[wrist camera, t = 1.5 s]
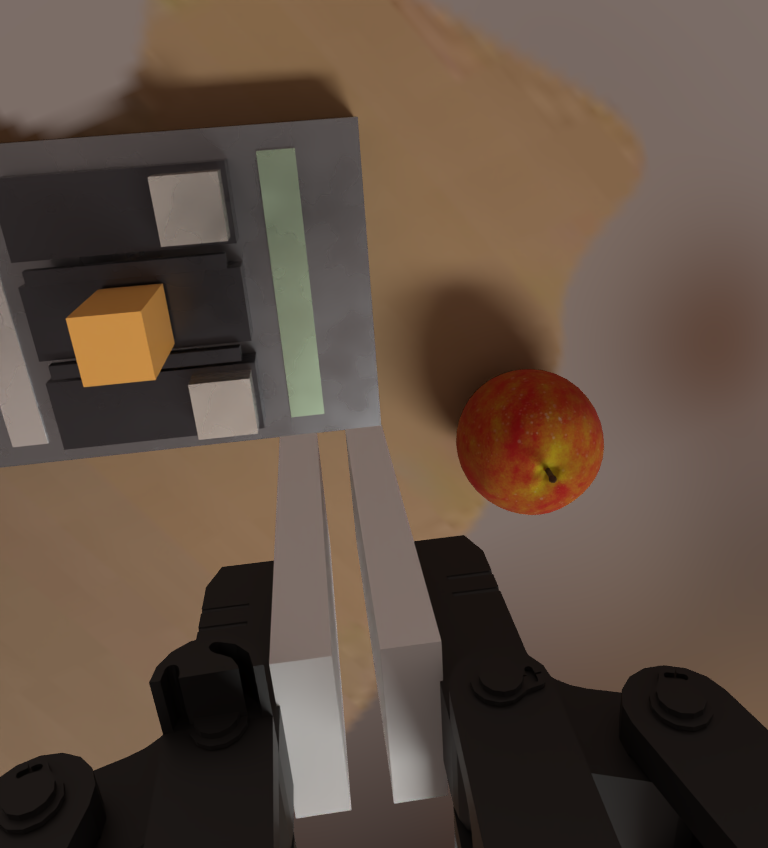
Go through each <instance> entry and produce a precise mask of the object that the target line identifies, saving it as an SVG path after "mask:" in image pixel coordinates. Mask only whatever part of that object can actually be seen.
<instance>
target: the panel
mask: <svg viewBox="0 0 768 848" xmlns="http://www.w3.org/2000/svg"><path fill="white" fill-rule="evenodd" d="M161 283H163V287H164V292H165V297H166V302H167V308H168V313H169V318H170V323H171V328H172V333H173V338H174V343H175V344H174V346H173V348H172V350H171V352H170V354H169V355H168V357H167V359H166V361H165V363H164V365H163V367H162V369H161V371H160V373H159V375H158V376H157V378H156V380H150V381H140V382H130V383H121V384H111V385H101V386H91V387H83V383H82V379H81V376H80V372H79V368H78V364H77V360H76V356H75V353H74V349H73V345H72V341H71V337H70V333H69V330H68V326H67V322H66V318H67V317H68V316H69V315H70V314H71V313H72V312H73V311H74V310H76V309H77V308H78V307H79V306H80V305H81V304H82V303H83V302H84V301H86V300H87V299H88V298H89V297H90V296H91V295H92V294H93V293H95V292H96V291H97V290H98V289H106V288H117V287H128V286H139V285H150V284H161ZM372 426H381V418H380V405H379V392H378V379H377V366H376V352H375V339H374V326H373V313H372V300H371V287H370V274H369V261H368V248H367V235H366V222H365V209H364V195H363V182H362V169H361V156H360V143H359V130H358V117H342V118H329V119H315V120H302V121H289V122H275V123H262V124H249V125H236V126H222V127H209V128H196V129H182V130H169V131H156V132H143V133H129V134H116V135H103V136H89V137H76V138H63V139H50V140H36V141H23V142H10V143H0V467H9V466H18V465H27V464H36V463H45V462H55V461H64V460H73V459H82V458H91V457H100V456H109V455H118V454H128V453H137V452H146V451H155V450H164V449H173V448H182V447H191V446H201V445H210V444H219V443H228V442H237V441H246V440H255V439H264V438H273V437H281V436H290V435H299V434H308V433H319V432H328V431H337V430H345V429H354V428H363V427H372Z"/></svg>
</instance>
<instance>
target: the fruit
mask: <svg viewBox="0 0 768 848" xmlns="http://www.w3.org/2000/svg"><path fill="white" fill-rule="evenodd" d="M456 445H457V453H458V457H459V461H460V464H461V467H462V469H463V471H464V473H465V475H466V477H467V479H468V480H469V482H470V483H471V484H472V485H473V487H474V488H475V489H476V490H477V491H478V492H479V493H480V494H481V495H482V496H483V497H484V498H486V499H487V500H488V501H490V502H492V503H493V504H495V505H496V506H498V507H500V508H503V509H506V510H508V511H511V512H515V513H519V514H528V515H536V514H537V515H538V514H545V513H550V512H553V511H555V510H558V509H560V508H562V507H564V506H566V505H568V504H569V503H571V502H572V501H574V500H575V499H577V498H578V497H579V496H580V495H581V494H583V492H584V491H585V490H586V489H587V488H588V487H589V486H590V484H591V483H592V482H593V480H594V479H595V477H596V475H597V473H598V471H599V469H600V466H601V462H602V458H603V450H604V439H603V432H602V427H601V423H600V420H599V417H598V415H597V413H596V410H595V408H594V407H593V405H592V404H591V402H590V401H589V399H588V398H587V397H586V395H585V394H583V392H582V391H581V390H580V389H579V388H578V387H576V386H575V385H574V384H573V383H571V382H570V381H568V380H567V379H565V378H563V377H561V376H559V375H557V374H554V373H551V372H547V371H543V370H535V369H523V370H515V371H510V372H507V373H504V374H501V375H499V376H497V377H495V378H493V379H491V380H489V381H488V382H486V383H485V384H483V385H482V386H481V387H480V388H479V389H478V390H477V391H476V392H475V393H474V394H473V395H472V397H471V398H470V399H469V400H468V402H467V404H466V406H465V407H464V409H463V412H462V414H461V417H460V419H459V423H458V428H457V438H456Z"/></svg>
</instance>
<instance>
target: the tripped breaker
mask: <svg viewBox="0 0 768 848" xmlns="http://www.w3.org/2000/svg"><path fill="white" fill-rule="evenodd" d="M66 322H67V326H68V330H69V333H70V337H71V341H72V345H73V349H74V353H75V356H76V360H77V364H78V368H79V372H80V376H81V379H82V383H83V387H91V386H101V385H111V384H121V383H130V382H140V381H150V380H156V378H157V376H158V375H159V373H160V371H161V369H162V367H163V365H164V363H165V361H166V359H167V357H168V355H169V354H170V352H171V350H172V348H173V346H174V344H175V343H174V338H173V333H172V328H171V323H170V318H169V313H168V308H167V302H166V297H165V292H164V287H163V283H161V284H150V285H139V286H128V287H117V288H106V289H98V290H97V291H96V292H95V293H93V294H92V295H91V296H90V297H89V298H88V299H87V300H86V301H84V302H83V303H82V304H81V305H80V306H79V307H78V308H77V309H76V310H74V311H73V312H72V313H71V314H70V315H69V316H68V317H67V318H66Z"/></svg>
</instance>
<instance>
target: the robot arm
mask: <svg viewBox="0 0 768 848" xmlns="http://www.w3.org/2000/svg"><path fill="white" fill-rule="evenodd" d="M345 431H346V441H347V451H348V461H349V471H350V481H351V491H352V501H353V511H354V521H355V531H356V541H357V548H358V555H359V562H360V569H361V576H362V583H363V590H364V597H365V604H366V611H367V618H368V625H369V632H370V639H371V646H372V653H373V660H374V667H375V674H376V681H377V688H378V695H379V702H380V709H381V716H382V723H383V729H384V737H385V743H386V751H387V758H388V764H389V772H390V779H391V786H392V793H393V799H394V803H401V802H407V801H414V800H421V799H427V798H434V797H440V796H447V795H448V783H449V787H450V792H451V796H452V800H453V805H454V828H455V848H768V730H767V729H766V728H765V727H764V726H763V725H762V724H761V723H760V722H759V721H758V720H757V719H756V718H755V717H754V716H752V714H750V713H749V712H748V711H747V710H746V709H745V708H744V707H743V706H742V705H741V704H740V703H739V702H738V701H737V700H736V699H735V698H733V696H731V695H730V694H729V693H728V692H727V691H726V690H725V689H724V688H722V687H721V686H719V685H718V684H716V683H715V682H714V681H712V680H711V679H709V678H708V677H707V676H704V675H701V674H699V673H696V672H694V671H691V670H689V669H686V668H680V667H672V666H656V667H650V668H644V669H642V670H640V671H639V672H637V673H635V674H633V675H632V676H630V677H629V679H628V680H627V682H626V684H625V685H624V687H623V689H622V693H619V692H611V691H602V690H593V689H586V688H581V687H577V686H572V685H569V684H566V683H564V682H561V681H558V680H556V679H554V678H552V677H551V676H550V675H549V673H548V672H547V670H546V669H545V667H544V666H543V665H542V664H541V663H539V662H538V661H536V660H535V659H533V658H532V657H530V656H529V655H528V654H527V652H526V650H525V648H524V646H523V643H522V641H521V638H520V636H519V634H518V631H517V629H516V627H515V625H514V622H513V620H512V617H511V615H510V613H509V611H508V608H507V606H506V604H505V601H504V599H503V597H502V594H501V592H500V591H499V589H498V585H497V582H496V580H495V578H494V575H493V574H492V572H491V569H490V566H489V564H488V561H487V559H486V557H485V554H484V552H483V550H481V549H480V548H479V547H478V546H476V545H475V544H474V543H473V542H472V541H470V540H469V539H468V538H467V537H465V536H464V535H462V536H454V537H446V538H437V539H429V540H421V541H414V540H413V537H412V533H411V529H410V526H409V522H408V519H407V515H406V511H405V508H404V504H403V501H402V497H401V493H400V490H399V486H398V482H397V479H396V475H395V472H394V468H393V464H392V461H391V457H390V454H389V450H388V446H387V443H386V439H385V436H384V432H383V428H382V425H381V426H372V427H363V428H354V429H345ZM149 684H150V687H151V691H152V695H153V699H154V702H155V706H156V710H157V713H158V717H159V721H160V724H161V728H162V732H163V735H162V736H161V737H160V738H159V739H157V740H156V741H155V742H153V743H152V744H151V745H149V746H148V747H146V748H145V749H143V750H141V751H139V752H137V753H135V754H133V755H131V756H129V757H126V758H124V759H121V760H119V761H116V762H114V763H111V764H109V765H106V766H104V767H102V768H99V769H97V770H94V771H93V769H92V767H91V766H90V765H88V764H87V763H86V762H85V761H84V760H83V759H82V758H81V757H78V756H74V755H70V754H65V753H58V754H50V755H43V756H39V757H36V758H34V759H31V760H29V761H27V762H24V763H22V764H19V765H17V766H15V767H14V768H13V769H11V770H10V771H8V772H7V773H5V774H4V775H3V776H1V777H0V848H296V842H295V837H294V824H293V823H294V809H295V815H296V818H302V817H308V816H314V815H322V814H328V813H334V812H341V811H348V810H351V801H350V800H351V799H350V788H349V774H348V762H347V751H346V750H347V749H346V737H345V724H344V712H343V700H342V687H341V675H340V662H339V650H338V637H337V625H336V613H335V600H334V588H333V575H332V563H331V550H330V540H329V531H328V523H327V514H326V506H325V497H324V489H323V481H322V472H321V464H320V455H319V447H318V438H317V433H308V434H299V435H290V436H281V437H280V446H279V467H278V488H277V509H276V530H275V551H274V561H267V562H259V563H251V564H243V565H235V566H227V567H222V568H221V569H220V570H219V572H218V573H217V574H216V575H215V577H214V578H213V579H212V581H211V582H210V583H209V584H208V586H207V587H206V591H205V596H204V601H203V606H202V614H201V617H200V622H199V632H198V633H197V638H196V640H194V641H191V642H189V643H187V644H185V645H183V646H182V647H180V648H178V649H176V650H174V651H173V652H171V653H170V654H169V655H168V656H167V657H166V658H165V659H164V660H163V661H162V662H161V663H160V664H159V665H158V666H157V667H156V669H155V671H154V674H153V676H152V678H151V680H150V682H149ZM447 779H448V780H447Z"/></svg>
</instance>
